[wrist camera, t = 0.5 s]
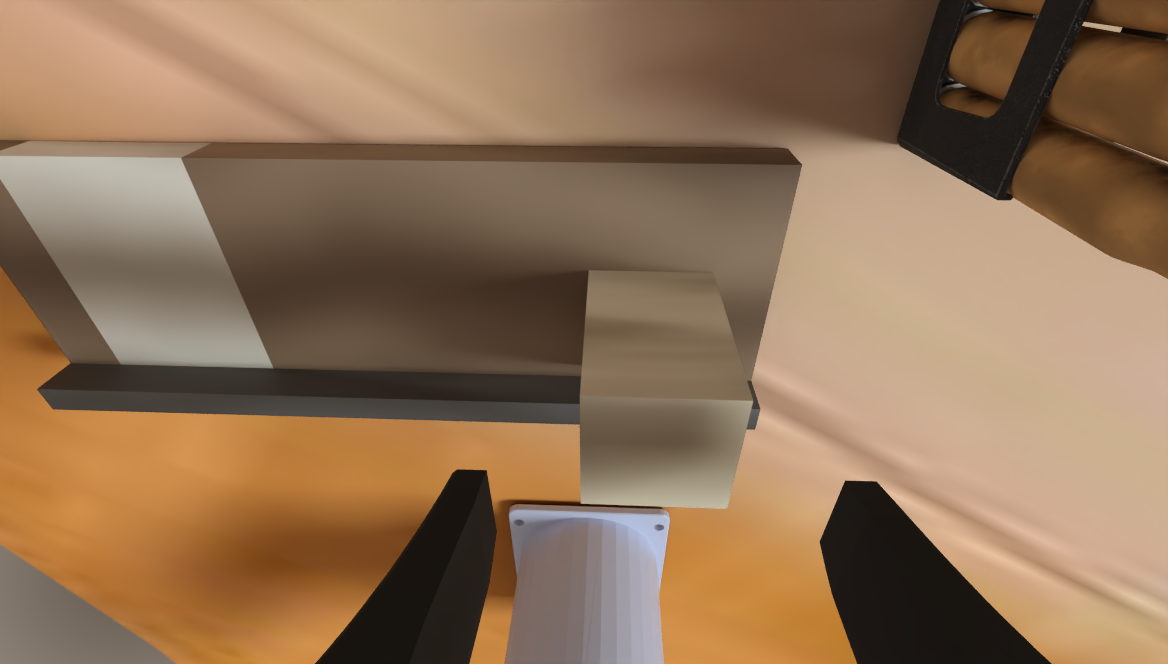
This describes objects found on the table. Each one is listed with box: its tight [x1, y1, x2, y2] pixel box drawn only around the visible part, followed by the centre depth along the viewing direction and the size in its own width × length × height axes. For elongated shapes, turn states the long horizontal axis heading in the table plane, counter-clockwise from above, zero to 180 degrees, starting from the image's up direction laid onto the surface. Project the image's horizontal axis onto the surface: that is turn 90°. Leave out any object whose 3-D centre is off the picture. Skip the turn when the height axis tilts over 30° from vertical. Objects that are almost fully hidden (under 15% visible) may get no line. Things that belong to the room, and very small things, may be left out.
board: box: [0, 141, 802, 430], centre depth 18 cm, size 9×26×3 cm, turn 90°
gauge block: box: [580, 270, 753, 509], centre depth 16 cm, size 4×4×6 cm
